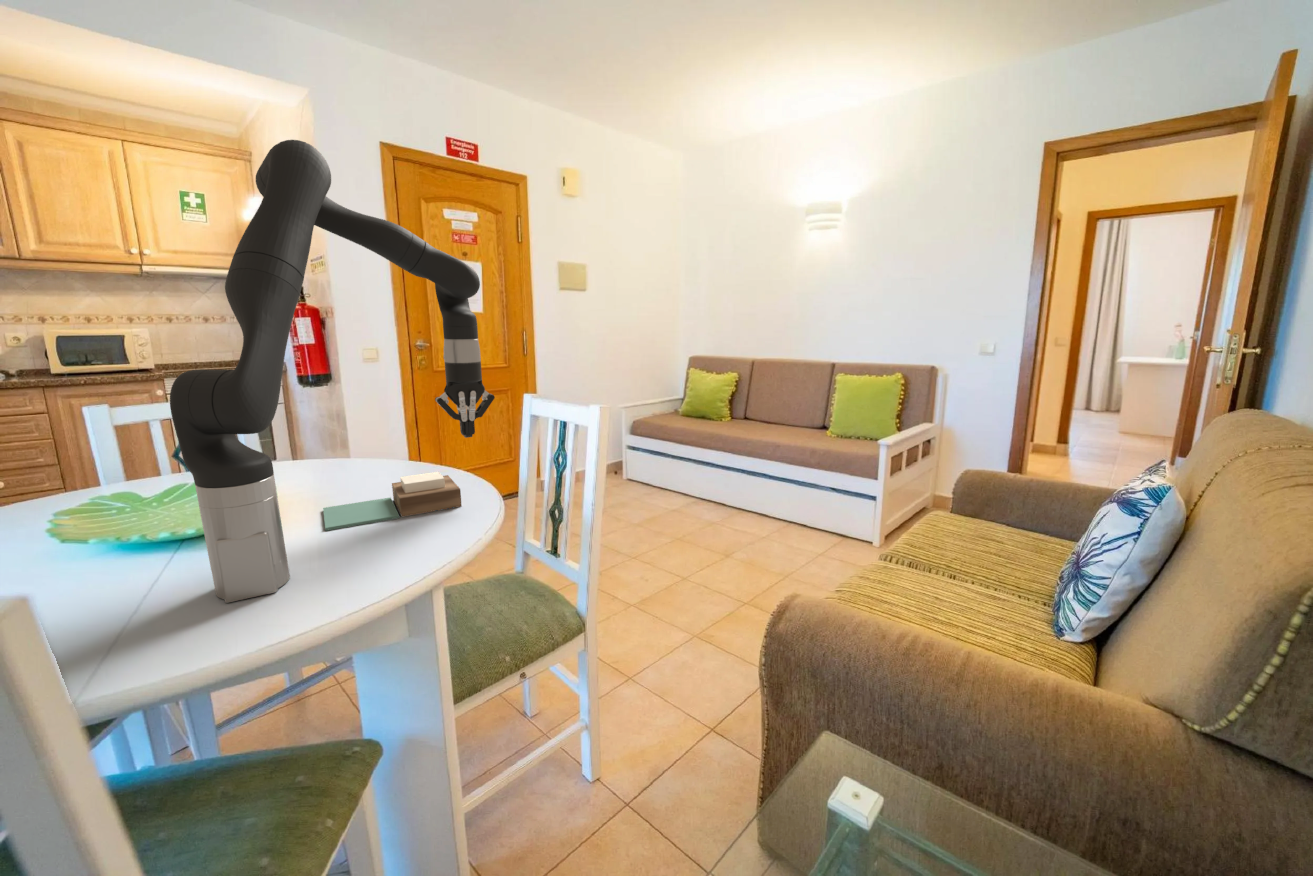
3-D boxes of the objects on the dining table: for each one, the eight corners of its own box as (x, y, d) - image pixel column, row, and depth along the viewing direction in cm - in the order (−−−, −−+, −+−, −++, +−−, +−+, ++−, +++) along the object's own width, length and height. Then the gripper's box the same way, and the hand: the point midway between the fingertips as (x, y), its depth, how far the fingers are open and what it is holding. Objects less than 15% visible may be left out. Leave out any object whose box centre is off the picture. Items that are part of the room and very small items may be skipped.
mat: (399, 518, 110) (399, 515, 110) (325, 531, 103) (325, 528, 103) (390, 499, 120) (390, 497, 120) (323, 510, 114) (323, 507, 113)
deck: (461, 506, 117) (460, 488, 116) (401, 516, 110) (399, 498, 110) (449, 491, 127) (448, 475, 126) (393, 500, 120) (391, 483, 119)
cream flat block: (445, 487, 117) (444, 478, 117) (405, 493, 113) (404, 484, 112) (439, 480, 122) (438, 471, 122) (401, 485, 118) (400, 476, 117)
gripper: (434, 362, 110) (441, 443, 114) (497, 360, 117) (502, 436, 121) (427, 359, 116) (433, 436, 120) (488, 357, 124) (492, 430, 128)
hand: (468, 436), depth 121 cm, fingers closed
